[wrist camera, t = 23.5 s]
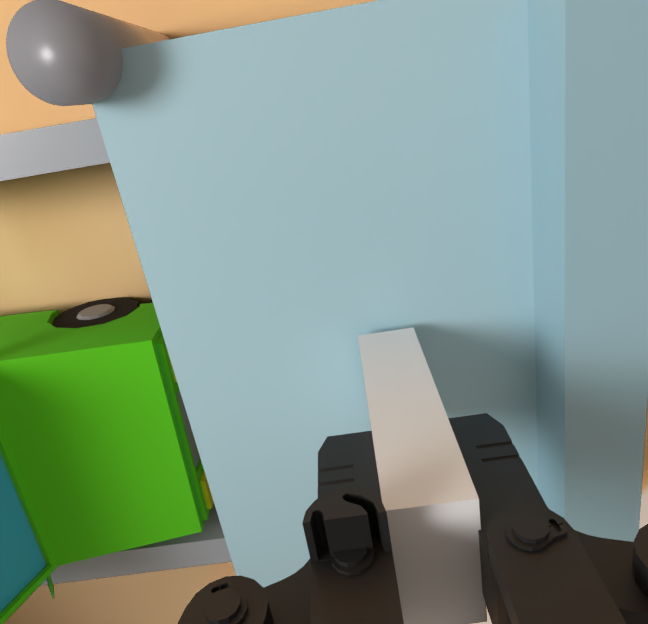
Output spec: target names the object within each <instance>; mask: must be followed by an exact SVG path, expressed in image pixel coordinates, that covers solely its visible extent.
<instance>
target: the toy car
mask: <svg viewBox="0 0 648 624" xmlns="http://www.w3.org/2000/svg"><path fill="white" fill-rule="evenodd" d="M213 502H214V501H213V498H212V494H211V491H210V488H209V485H208V481H207V478H206V475H205V471H204V468H203V465H202V462H201V458H200V455H199V452H198V448H197V445H196V442H195V439H194V435H193V432H192V429H191V426H190V422H189V419H188V416H187V412H186V409H185V406H184V403H183V399H182V396H181V393H180V390H179V386H178V383H177V380H176V376H175V373H174V370H173V367H172V363H171V360H170V357H169V354H168V350H167V347H166V344H165V340H164V337H163V334H162V331H161V327H160V324H159V321H158V317H157V314H156V311H155V308H154V304H153V303H144V304H140V307H139V304H138V301H136V300H134V299H131V298H128V297H124V298H111V299H102V300H97V301H92V302H88V303H85V304H82V305H79V306H77V307H74V308H71V309H69V310H67V311H65V312H64V313H62V314H60V315H59V313H58V310H52V311H40V312H32V313H23V314H15V315H6V316H0V624H3V623H4V622H5V621H6V620H7V619H8V618H9V617H10V616H11V615H12V614H13V613H14V612H15V611H16V610H17V609H18V608H19V607H20V606H21V605H22V604H23V603H24V602H25V600H26V599H27V598H28V597H29V596H30V595H31V594H32V593H33V592H34V591H35V590H36V589H37V588H38V587H39V586H40V585H41V584H42V583H43V582H44V581H45V580H47V583H48V586H49V589H50V592H51V595H52V598H55V597H54V585H53V582H52V579H51V576H50V574H51V573H52V572H53V571H54V570H55V569H56V568H57V567H58V566H60V565H64V564H68V563H73V562H77V561H81V560H85V559H89V558H94V557H98V556H102V555H106V554H110V553H115V552H119V551H123V550H127V549H131V548H136V547H140V546H144V545H148V544H152V543H157V542H161V541H165V540H169V539H173V538H178V537H182V536H186V535H190V534H194V533H199V532H202V529H203V525H204V521H205V520H208V516H209V512H210V509H212V505H213Z"/></svg>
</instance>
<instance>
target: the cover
mask: <svg viewBox="0 0 648 624" xmlns="http://www.w3.org/2000/svg"><path fill="white" fill-rule="evenodd" d="M6 48H7V54H8V58H9V62H10V65H11V67H12V69H13V71H14V73H15V75H16V77H17V78H18V80H19V81H20V82H21V84H22V85H23V86H24V87H25V88H26V89H27V90H28V91H29V92H30V93H32V94H33V95H34V96H36V97H37V98H39V99H41V100H43V101H45V102H47V103H50V104H53V105H59V106H72V105H84V104H92V105H93V108H94V111H95V114H96V118H97V121H98V124H99V127H100V131H101V134H102V137H103V141H104V144H105V147H106V150H107V154H108V157H109V160H110V164H111V167H112V170H113V173H114V177H115V180H116V183H117V186H118V190H119V193H120V196H121V200H122V203H123V206H124V209H125V213H126V216H127V219H128V222H129V226H130V229H131V232H132V236H133V239H134V242H135V245H136V249H137V252H138V255H139V259H140V262H141V265H142V268H143V272H144V275H145V278H146V281H147V285H148V288H149V291H150V295H151V298H152V301H153V304H154V308H155V311H156V314H157V317H158V321H159V324H160V327H161V331H162V334H163V337H164V340H165V344H166V347H167V350H168V354H169V357H170V360H171V363H172V367H173V370H174V373H175V376H176V380H177V383H178V386H179V390H180V393H181V396H182V399H183V403H184V406H185V409H186V412H187V416H188V419H189V422H190V426H191V429H192V432H193V435H194V439H195V442H196V445H197V448H198V452H199V455H200V458H201V462H202V465H203V468H204V471H205V475H206V478H207V481H208V485H209V488H210V491H211V494H212V498H213V501H214V504H215V507H216V511H217V514H218V517H219V521H220V524H221V527H222V530H223V534H224V537H225V540H226V543H227V547H228V550H229V553H230V557H231V560H232V563H233V566H234V570H235V573H236V576H244V577H248V578H251V579H254V580H255V581H257V582H258V583H259V584H260V585H261V586H262V587H263V588H264V587H266V586H269V585H271V584H273V583H276V582H278V581H280V580H283V579H285V578H287V577H289V576H290V575H292V574H294V573H296V572H297V571H298V570H299V569H300V568H302V567H303V566H304V565H305V564H306V563H307V561H308V560H309V559H310V555H309V551H308V546H307V542H306V537H305V533H304V528H303V524H302V522H303V519H304V515H305V512H306V510H307V509H308V508H309V507H310V505H311V504H312V503H313V502H314V501H315V500H316V499H318V451H319V450H320V448H321V446H322V445H323V443H324V441H325V440H326V438H327V437H328V436H335V435H343V434H350V433H357V432H364V431H372V430H371V423H370V416H369V410H368V403H367V396H366V389H365V382H364V376H363V369H362V362H361V355H360V348H359V342H358V335H365V334H372V333H379V332H386V331H392V330H399V329H406V328H414V330H415V333H416V335H417V338H418V341H419V343H420V346H421V349H422V351H423V354H424V356H425V359H426V362H427V364H428V367H429V369H430V372H431V375H432V377H433V380H434V383H435V385H436V388H437V390H438V393H439V396H440V398H441V401H442V404H443V406H444V409H445V411H446V414H447V417H448V418H454V417H462V416H469V415H476V414H483V413H487V414H489V415H490V416H491V417H493V418H494V419H496V420H497V421H498V422H500V423H501V424H502V425H504V427H505V429H506V431H507V433H508V435H509V436H510V438H511V440H512V444H514V446H515V448H516V449H517V451H518V453H519V457H520V458H521V459H522V461H523V462H524V464H525V466H526V468H527V470H528V472H529V474H530V476H531V477H532V479H533V481H534V483H535V485H536V487H537V489H538V490H539V492H540V494H541V496H542V498H543V500H544V502H545V503H546V505H547V507H548V508H549V509H550V510H551V511H553V512H555V513H556V514H558V515H560V516H562V517H563V518H564V519H565V520H566V521H567V522H568V523H569V525H570V526H571V527H572V528H573V529H574V530H576V531H579V532H581V533H584V534H587V535H591V536H596V537H600V538H607V539H615V540H623V541H631V542H634V539H635V537H636V535H637V533H638V531H639V520H640V505H641V491H642V476H643V461H644V446H645V431H646V416H647V401H648V0H378V1H372V2H367V3H362V4H356V5H351V6H346V7H340V8H335V9H330V10H324V11H319V12H314V13H308V14H303V15H298V16H292V17H287V18H282V19H276V20H271V21H266V22H260V23H255V24H250V25H244V26H239V27H234V28H228V29H223V30H218V31H212V32H207V33H202V34H196V35H191V36H186V37H180V38H175V39H170V38H169V37H167V36H166V35H164V34H161V33H158V32H155V31H152V30H149V29H146V28H143V27H140V26H137V25H134V24H131V23H128V22H124V21H121V20H118V19H115V18H112V17H109V16H106V15H103V14H100V13H97V12H94V11H90V10H87V9H84V8H81V7H78V6H75V5H72V4H69V3H66V2H63V1H60V0H35V1H32V2H30V3H27V4H26V5H24V6H23V7H21V8H20V9H19V10H18V11H17V13H16V14H15V15H14V16H13V18H12V20H11V22H10V25H9V27H8V31H7V38H6Z"/></svg>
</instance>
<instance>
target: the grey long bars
mask: <svg viewBox="0 0 648 624" xmlns="http://www.w3.org/2000/svg"><path fill="white" fill-rule="evenodd" d="M105 163H110V160H109V157H108V154H107V150H106V147H105V144H104V141H103V137H102V134H101V131H100V127H99V124H98V121H97V118H95V119H89V120H83V121H78V122H72V123H66V124H60V125H55V126H49V127H43V128H37V129H32V130H26V131H20V132H14V133H9V134H3V135H0V181H4V180H10V179H16V178H22V177H28V176H34V175H40V174H45V173H51V172H57V171H63V170H69V169H75V168H81V167H87V166H93V165H99V164H105ZM225 562H232V560H231V557H230V553H229V550H228V547H227V543H226V540H225V537H224V534H223V530H222V527H221V524H220V521H219V517H218V514H217V511H216V507H215V504H214V502H213V505H212V509H210V512H209V516H208V520H205V521H204V525H203V529H202V532H199V533H194V534H190V535H186V536H182V537H178V538H173V539H169V540H165V541H161V542H157V543H152V544H148V545H144V546H140V547H136V548H131V549H127V550H123V551H119V552H115V553H110V554H106V555H102V556H98V557H94V558H89V559H85V560H81V561H77V562H73V563H68V564H64V565H60V566H58V567H57V568H56V569H55V570H54V571H53V572H52V573H51V574H50V576H51V579H52V582H53V584H58V583H66V582H74V581H82V580H90V579H98V578H106V577H114V576H122V575H130V574H138V573H145V572H153V571H161V570H169V569H177V568H185V567H193V566H201V565H209V564H217V563H225ZM42 585H48V583H47V580H45V581H44V582H43V583H42V584H41V585H40V586H42Z"/></svg>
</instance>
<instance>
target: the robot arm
mask: <svg viewBox="0 0 648 624" xmlns="http://www.w3.org/2000/svg"><path fill="white" fill-rule="evenodd" d="M358 342H359V348H360V355H361V362H362V369H363V376H364V382H365V389H366V396H367V403H368V410H369V416H370V423H371V430H372V431H364V432H357V433H350V434H343V435H335V436H328V437H327V438H326V440H325V441H324V443H323V445H322V446H321V448H320V450H319V451H318V499H316V500H315V501H314V502H313V503H312V504H311V505H310V507H309V508H308V509H307V510H306V512H305V515H304V519H303V522H302V524H303V528H304V533H305V537H306V542H307V546H308V551H309V555H310V559H309V560H308V561H307V563H306V564H305V565H304V566H303V567H302V568H300V569H299V570H298V571H297V572H296V573H294V574H292V575H290V576H289V577H287V578H285V579H283V580H280V581H278V582H276V583H273V584H271V585H269V586H266V587H264V588H263V587H262V586H261V585H260V584H259V583H258V582H257V581H255V580H254V579H251V578H248V577H244V576H230V577H224V578H221V579H219V580H216V581H214V582H212V583H209V584H208V585H207V586H205V587H204V588H203V589H202V590H200V591H199V592H198V593H196V594H195V596H194V597H193V599H192V600H191V601H190V603H189V604H188V605H187V607H186V608H185V610H184V612H183V614H182V616H181V618H180V620H179V622H178V624H469V623H478V622H486V621H487V613H486V606H487V609H488V612H489V615H490V618H491V622H492V624H648V524H647V525H645V526H644V527H642V528H641V529H639V531H638V533H637V535H636V537H635V539H634V542H631V541H623V540H615V539H607V538H600V537H596V536H591V535H587V534H584V533H581V532H579V531H576V530H574V529H573V528H572V527H571V526H570V525H569V523H568V522H567V521H566V520H565V519H564V518H563V517H562V516H560V515H558V514H556V513H555V512H553V511H551V510H550V509H549V508H548V507H547V505H546V503H545V502H544V500H543V498H542V496H541V494H540V492H539V490H538V489H537V487H536V485H535V483H534V481H533V479H532V477H531V476H530V474H529V472H528V470H527V468H526V466H525V464H524V462H523V461H522V459H521V458H520V457H519V453H518V451H517V449H516V448H515V446H514V444H512V440H511V438H510V436H509V435H508V433H507V431H506V429H505V427H504V425H502V424H501V423H500V422H498V421H497V420H496V419H494V418H493V417H491V416H490V415H489V414H487V413H483V414H476V415H469V416H462V417H454V418H448V417H447V414H446V411H445V409H444V406H443V404H442V401H441V398H440V396H439V393H438V390H437V388H436V385H435V383H434V380H433V377H432V375H431V372H430V369H429V367H428V364H427V362H426V359H425V356H424V354H423V351H422V349H421V346H420V343H419V341H418V338H417V335H416V333H415V330H414V328H406V329H399V330H392V331H386V332H379V333H372V334H365V335H358Z"/></svg>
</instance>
